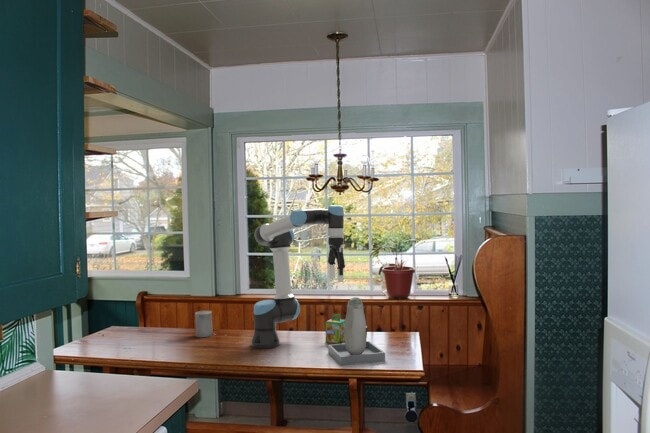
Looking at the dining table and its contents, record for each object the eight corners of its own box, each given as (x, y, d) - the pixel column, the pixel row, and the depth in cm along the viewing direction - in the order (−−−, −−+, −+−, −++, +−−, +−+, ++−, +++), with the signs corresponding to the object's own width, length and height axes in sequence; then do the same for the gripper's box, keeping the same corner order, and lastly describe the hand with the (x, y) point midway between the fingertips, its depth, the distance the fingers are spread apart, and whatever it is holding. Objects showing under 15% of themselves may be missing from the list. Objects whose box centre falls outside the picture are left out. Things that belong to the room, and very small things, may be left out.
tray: (328, 352, 267) (328, 345, 267) (369, 348, 273) (369, 341, 273) (341, 365, 246) (340, 357, 246) (385, 360, 251) (385, 352, 251)
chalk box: (325, 342, 286) (324, 315, 286) (331, 338, 295) (330, 312, 294) (341, 344, 283) (340, 316, 283) (347, 340, 291) (346, 313, 291)
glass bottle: (363, 358, 253) (362, 300, 252) (342, 356, 256) (342, 299, 255) (368, 352, 262) (367, 296, 261) (348, 350, 266) (347, 295, 265)
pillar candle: (205, 332, 315) (203, 307, 315) (216, 334, 310) (215, 309, 309) (192, 336, 308) (191, 310, 307) (203, 338, 302) (202, 312, 301)
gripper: (351, 238, 248) (351, 283, 249) (335, 234, 272) (335, 275, 273) (336, 239, 246) (336, 284, 247) (321, 235, 270) (321, 276, 271)
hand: (336, 279), depth 260 cm, fingers open, 13 cm apart
